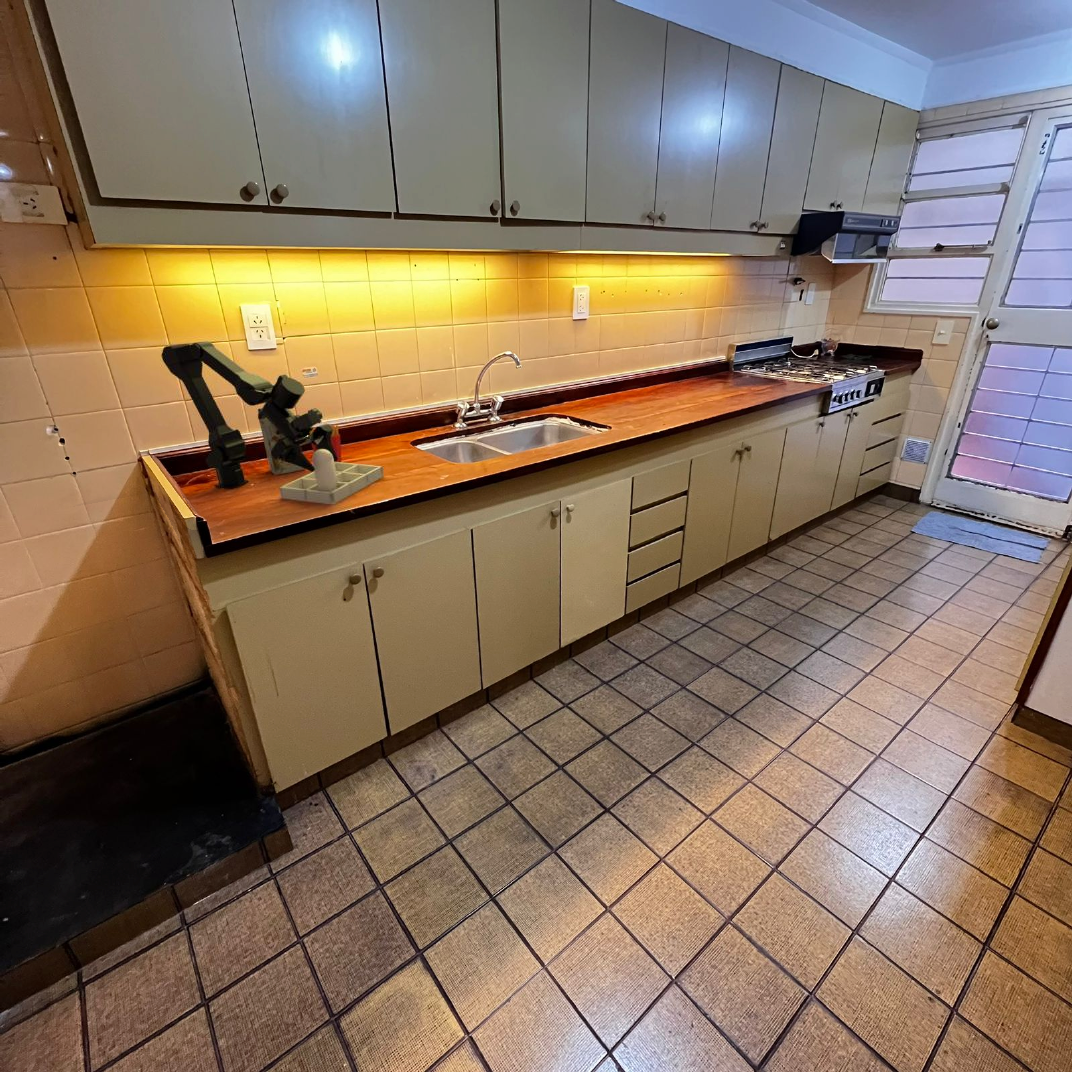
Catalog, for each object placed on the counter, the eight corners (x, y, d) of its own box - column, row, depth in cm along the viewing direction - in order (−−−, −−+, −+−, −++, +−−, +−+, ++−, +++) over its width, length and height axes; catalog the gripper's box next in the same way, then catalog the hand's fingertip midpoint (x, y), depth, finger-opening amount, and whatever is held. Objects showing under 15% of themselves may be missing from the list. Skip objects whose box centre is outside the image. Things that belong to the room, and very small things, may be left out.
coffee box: (300, 465, 180) (290, 414, 173) (305, 469, 175) (296, 418, 168) (269, 470, 175) (258, 418, 168) (274, 475, 170) (263, 422, 163)
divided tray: (281, 498, 152) (279, 487, 151) (336, 471, 173) (335, 461, 171) (333, 504, 147) (331, 493, 146) (383, 476, 168) (382, 466, 167)
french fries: (342, 462, 182) (335, 422, 176) (345, 465, 178) (339, 424, 173) (312, 467, 177) (305, 426, 172) (315, 470, 174) (308, 428, 169)
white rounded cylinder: (317, 498, 149) (308, 452, 144) (321, 492, 154) (312, 447, 149) (337, 497, 150) (329, 451, 144) (340, 491, 154) (333, 446, 149)
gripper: (270, 407, 135) (316, 456, 136) (322, 393, 151) (362, 437, 152) (251, 436, 141) (295, 483, 142) (303, 420, 157) (342, 462, 158)
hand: (325, 465), depth 148 cm, fingers open, 9 cm apart
